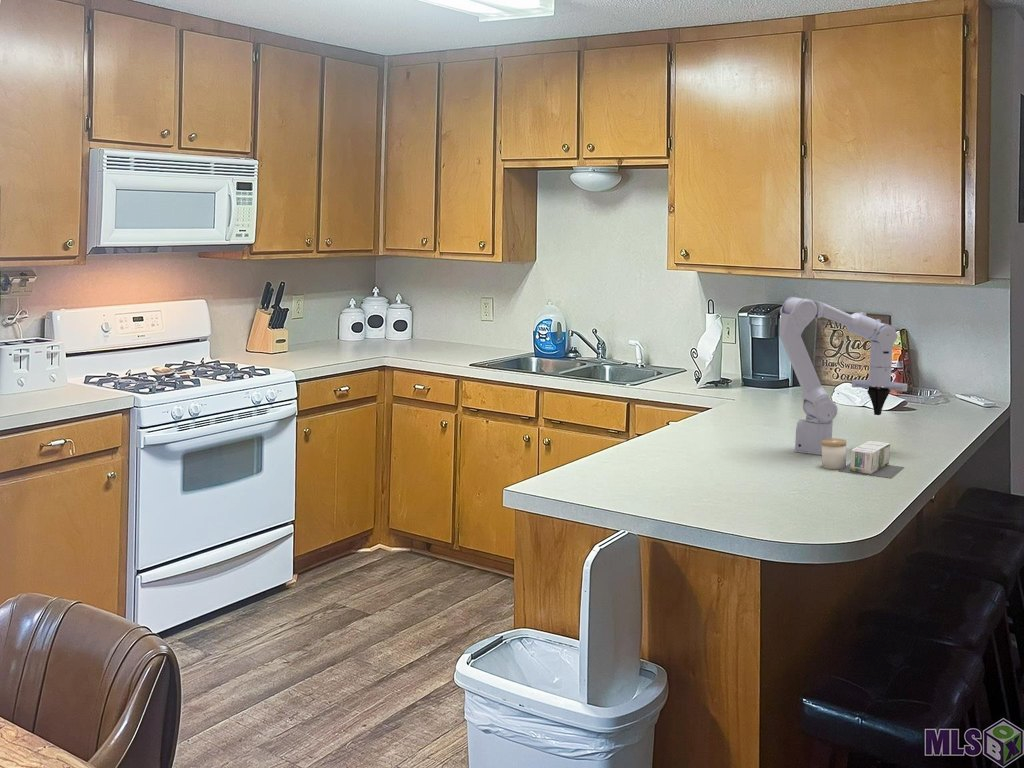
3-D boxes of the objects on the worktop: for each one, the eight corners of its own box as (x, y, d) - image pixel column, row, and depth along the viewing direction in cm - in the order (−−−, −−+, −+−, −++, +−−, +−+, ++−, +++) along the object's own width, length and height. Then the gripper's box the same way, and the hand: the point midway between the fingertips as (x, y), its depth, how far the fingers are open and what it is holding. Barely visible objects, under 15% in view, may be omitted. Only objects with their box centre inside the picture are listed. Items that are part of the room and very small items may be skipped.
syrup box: (869, 439, 264) (849, 449, 253) (891, 443, 260) (872, 452, 249) (867, 460, 265) (848, 471, 254) (890, 464, 261) (871, 474, 250)
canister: (818, 468, 258) (818, 441, 257) (825, 463, 263) (825, 437, 262) (842, 470, 254) (842, 443, 254) (849, 465, 260) (849, 439, 259)
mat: (838, 472, 254) (838, 470, 254) (853, 461, 265) (853, 460, 265) (891, 479, 247) (891, 477, 246) (904, 468, 258) (904, 467, 258)
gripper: (911, 366, 274) (908, 414, 276) (857, 363, 282) (855, 409, 284) (905, 369, 269) (902, 418, 271) (850, 365, 277) (848, 413, 279)
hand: (877, 414), depth 277 cm, fingers closed
